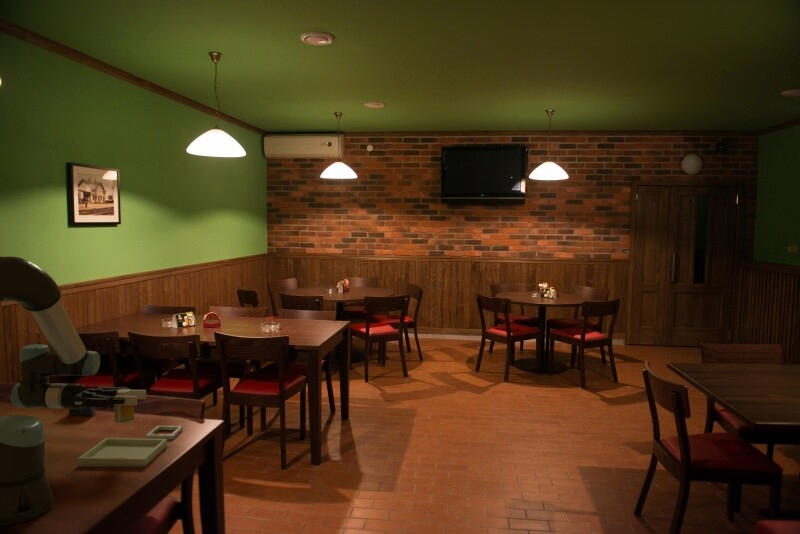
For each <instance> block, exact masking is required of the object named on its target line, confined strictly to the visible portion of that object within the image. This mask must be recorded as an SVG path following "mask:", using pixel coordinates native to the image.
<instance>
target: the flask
mask: <svg viewBox="0 0 800 534" xmlns="http://www.w3.org/2000/svg"><path fill="white" fill-rule="evenodd" d="M81 385H82V386H83V387H84V388H85V385H84V384H81ZM93 415H94V416H95V415H96V407H79V408H76V409H69V408H68V416H69V417H93Z"/></svg>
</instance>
